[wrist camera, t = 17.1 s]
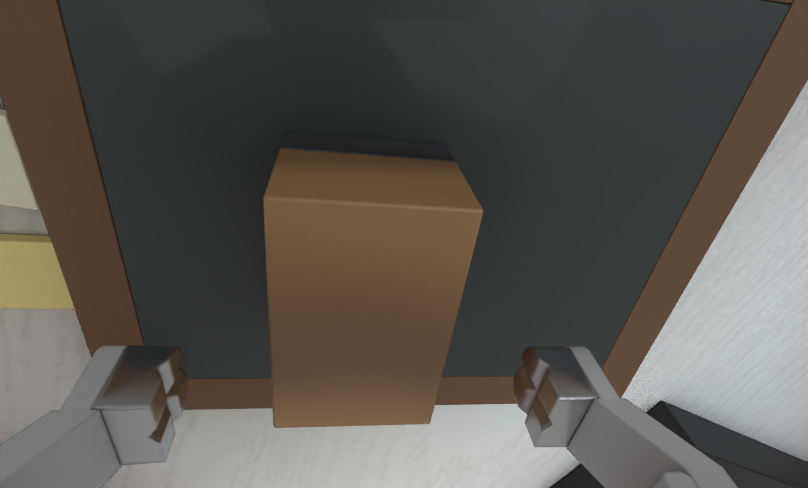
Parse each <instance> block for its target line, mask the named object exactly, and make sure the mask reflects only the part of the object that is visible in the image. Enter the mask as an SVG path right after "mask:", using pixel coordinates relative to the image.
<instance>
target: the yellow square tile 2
mask: <svg viewBox="0 0 808 488" xmlns="http://www.w3.org/2000/svg"><path fill="white" fill-rule="evenodd" d="M0 308H24V309H75V308H74V305H73V302H72V300H71V297H70V294H69V291H68V288H67V285H66V282H65V279H64V276H63V274H62V271H61V268H60V265H59V262H58V259H57V256H56V253H55V250H54V248H53V245H52V242H51V239H50V236H48V235H23V234H0Z"/></svg>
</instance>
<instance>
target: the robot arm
mask: <svg viewBox="0 0 808 488" xmlns="http://www.w3.org/2000/svg"><path fill="white" fill-rule="evenodd" d="M522 359H523V361H524V364H523V365H522V366H521V367H519V368H518V369H517V370H516V373H515V376H514V387H513V390H514V395H515V399H516V401H517V404H518V407H519V408H520V409H522V410H523V411H524V412H525V413H526V414H527V417H526V420H525V425H526V427H527V430H528V432H529V434H530V437H531V439H532V442H533V444H534V447H567V449H568V450H569V451H570V452H571V453H572V454H573V456H574V457H575V458H576V459H577V460H578V461H579V462H580V463H581V464H582V465H583V466H584V467H585V468H586V469H587V470H588V471H589V472H590V473H591V474H592V475H593V476H594V477H595V478H596V479H597V480H598V481H599V482H600V483H601V484H602V485H603V486H604V487H605V488H738V487H737V486H736V485H735V483H734V482H733V481H732V479H731V478H730V477H729V475H728V474H727V473H726V471H725V470H724V468H723V467H721V466H720V465H718V464H717V463H716V462H714V461H713V460H711V459H710V458H709V457H707V456H706V455H704V454H703V453H702V452H700V451H699V450H697V449H696V448H694V447H693V446H692V445H690V444H689V443H687V442H686V441H685V440H683V439H682V438H680V437H679V436H678V435H676V434H675V433H673V432H672V431H671V430H669V429H668V428H666V427H665V426H663V425H662V424H661V423H659V422H658V421H656V420H655V419H654V418H652V417H651V416H649V415H648V414H647V413H645V412H644V411H642V410H641V409H639V408H638V407H637V406H635V405H634V404H632V403H631V402H630V401H628V400H627V399H620V398H619V396H618V395H617V393H616V391H615V390H614V388H613V387H612V385H611V384H610V382H609V380H608V379H607V377H606V376H605V374H604V373H603V371H602V369H601V368H600V366H599V365H598V363H597V362H596V360H595V358H594V357H593V355H592V354H591V352H590V351H589V349H587V348H586V347H585V346H566V347H563V346H542V347H528V348H526V349H525V350H524V353H523V355H522ZM182 360H183V355H182V351H181V348H180V347H177V346H142V345H129V346H127V345H103V346H101V347H100V348H99V349H98V350H96V352H95V353H94V355H93V357H92V358H91V360H90V362H89V363H88V365H87V366H86V368H85V370H84V371H83V373H82V375H81V376H80V378H79V380H78V381H77V383H76V384H75V386H74V388H73V389H72V391H71V393H70V394H69V396H68V398H67V399H66V401H65V402H64V404H63V406H62V407H61V409H60V410H53V411H50V412H49V413H47V414H46V415H44V416H43V417H41V418H40V419H38V420H37V421H35V422H34V423H32V424H31V425H29V426H28V427H26V428H25V429H23V430H22V431H20V432H19V433H17V434H16V435H15V436H13V437H12V438H10V439H9V440H7V441H6V442H4V443H3V444H1V445H0V488H101V487H102V486H103V485H104V484H105V483H106V482H107V481H108V480H109V479H110V478H111V477H112V476H113V475H114V474H115V473H116V472H117V471H118V470H119V469H120V468H121V466H120V465H130V464H145V463H160V462H166V459H167V456H168V453H169V450H170V447H171V444H172V441H173V438H174V435H175V430H174V425H173V422H174V421H175V420H176V419H177V418H178V417H179V416H181V415H182V412H183V409H184V405H185V402H186V396H187V375H186V372H185V371H184V370H183V369H182V368H180V365H181V363H182Z"/></svg>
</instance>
